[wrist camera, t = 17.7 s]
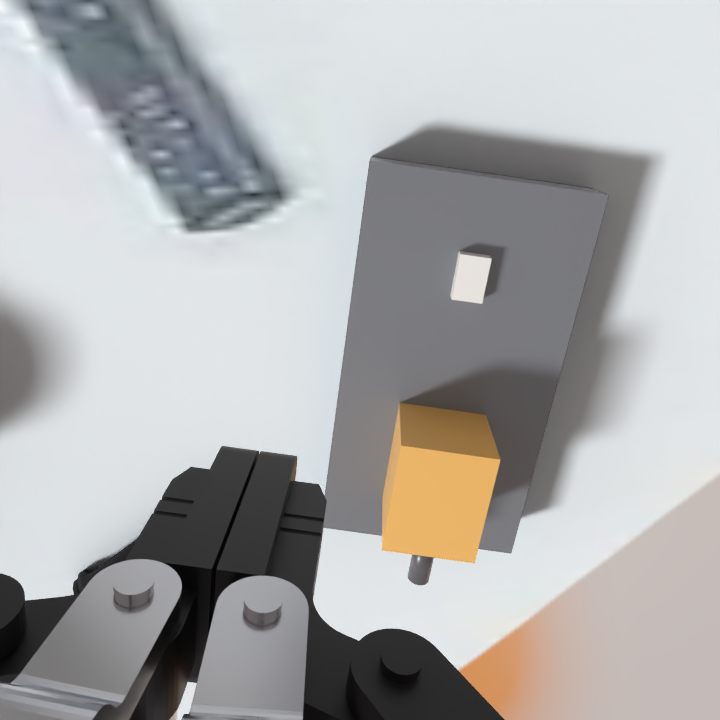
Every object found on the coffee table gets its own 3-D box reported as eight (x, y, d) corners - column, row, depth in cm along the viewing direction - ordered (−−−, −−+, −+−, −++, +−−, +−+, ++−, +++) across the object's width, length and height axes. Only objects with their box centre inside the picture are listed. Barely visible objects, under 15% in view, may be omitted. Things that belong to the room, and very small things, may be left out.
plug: (398, 381, 39) (400, 445, 31) (479, 393, 39) (500, 459, 32) (376, 505, 42) (374, 590, 35) (451, 516, 42) (464, 602, 35)
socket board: (371, 156, 34) (369, 161, 31) (591, 188, 34) (614, 197, 31) (324, 499, 42) (319, 535, 39) (503, 524, 42) (513, 561, 39)
